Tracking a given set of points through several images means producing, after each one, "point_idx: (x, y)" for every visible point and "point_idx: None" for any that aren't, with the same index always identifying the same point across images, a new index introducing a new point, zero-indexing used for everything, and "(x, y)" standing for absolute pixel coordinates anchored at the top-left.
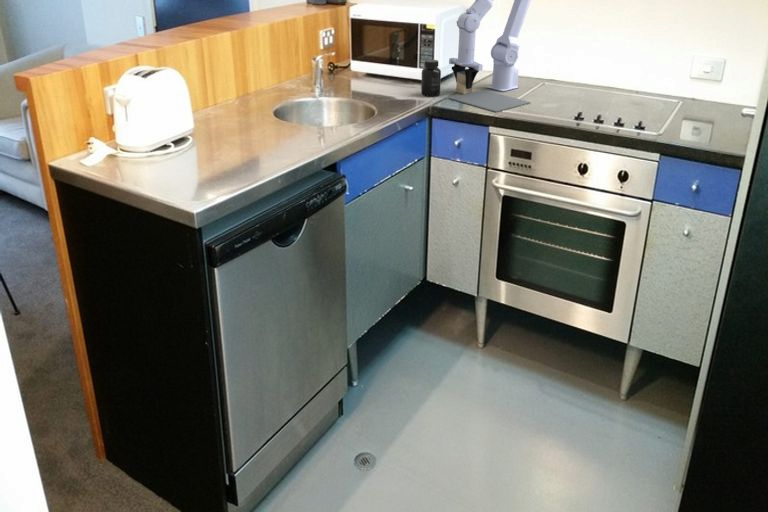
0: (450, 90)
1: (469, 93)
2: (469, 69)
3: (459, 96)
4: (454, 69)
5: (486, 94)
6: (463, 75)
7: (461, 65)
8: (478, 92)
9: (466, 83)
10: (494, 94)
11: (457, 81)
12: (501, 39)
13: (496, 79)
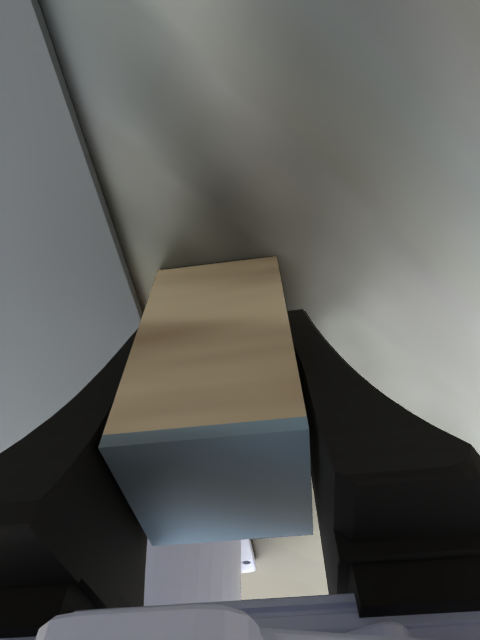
0: (360, 243)
1: (113, 306)
2: (10, 577)
3: (21, 124)
4: (373, 451)
5: (31, 395)
6: (144, 421)
7: (315, 612)
8: None
9: (126, 358)
10: (14, 433)
11: (273, 327)
12: None
13: (148, 573)
